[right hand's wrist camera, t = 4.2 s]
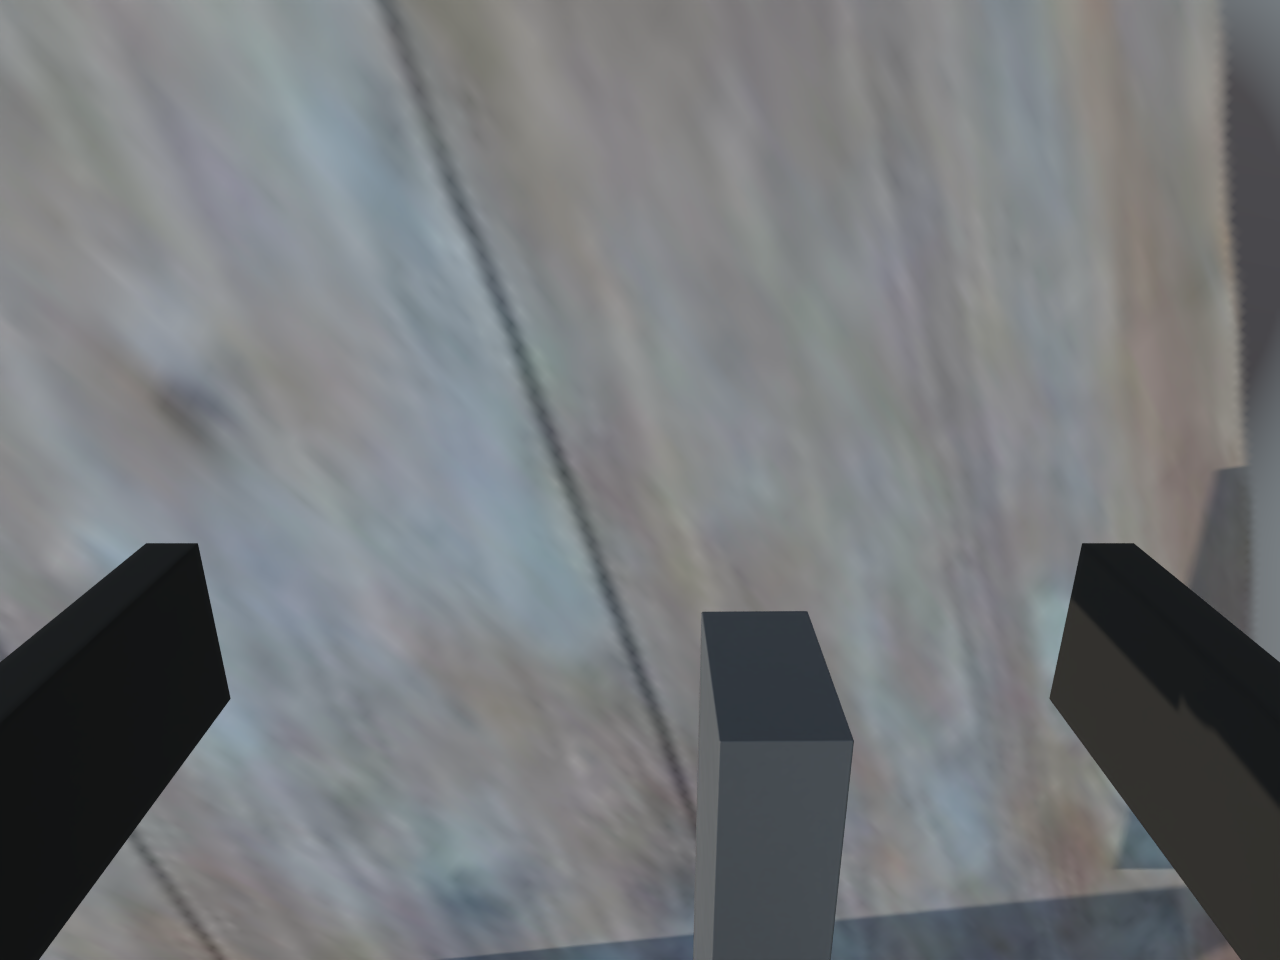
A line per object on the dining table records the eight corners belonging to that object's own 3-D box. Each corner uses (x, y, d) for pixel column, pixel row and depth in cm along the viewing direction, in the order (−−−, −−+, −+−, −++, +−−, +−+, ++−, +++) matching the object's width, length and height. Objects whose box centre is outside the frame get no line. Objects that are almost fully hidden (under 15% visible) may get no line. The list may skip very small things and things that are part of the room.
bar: (701, 611, 37) (719, 741, 29) (807, 610, 37) (854, 741, 29) (691, 1032, 47) (702, 1216, 39) (775, 1031, 47) (803, 1215, 39)
